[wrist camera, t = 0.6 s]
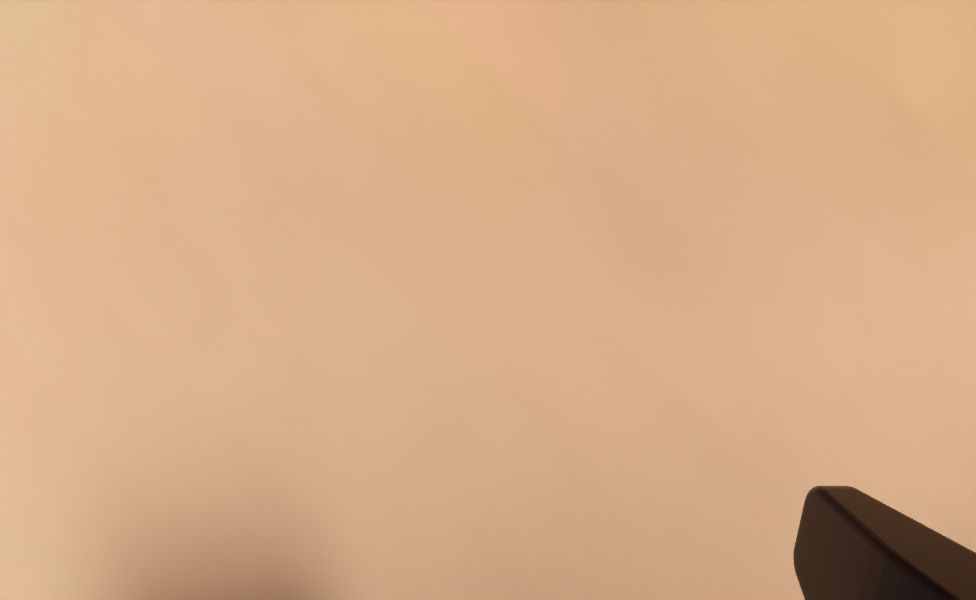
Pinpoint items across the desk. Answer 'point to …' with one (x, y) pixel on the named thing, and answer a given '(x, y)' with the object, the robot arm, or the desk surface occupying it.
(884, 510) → the robot arm
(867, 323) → the desk surface
